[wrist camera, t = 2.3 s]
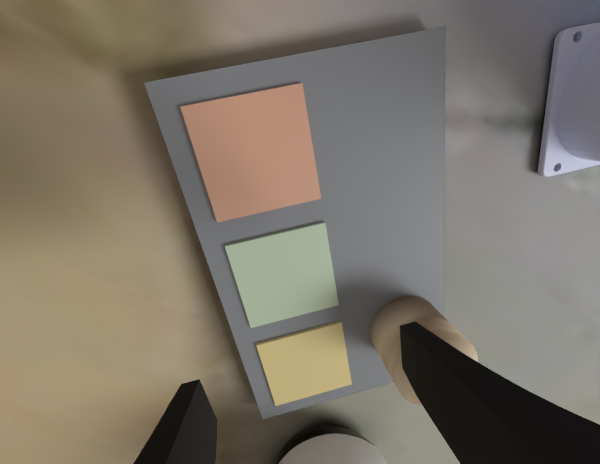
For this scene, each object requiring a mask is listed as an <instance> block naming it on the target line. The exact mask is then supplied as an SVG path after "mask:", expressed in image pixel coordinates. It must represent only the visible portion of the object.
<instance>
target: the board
mask: <svg viewBox="0 0 600 464" xmlns="http://www.w3.org/2000/svg"><path fill="white" fill-rule="evenodd" d="M144 84H145V87H146V90H147V93H148V96H149V99H150V101H151V104H152V107H153V110H154V113H155V116H156V118H157V121H158V124H159V127H160V130H161V133H162V135H163V138H164V141H165V144H166V147H167V150H168V152H169V155H170V158H171V161H172V164H173V167H174V169H175V172H176V175H177V178H178V181H179V184H180V186H181V189H182V192H183V195H184V198H185V201H186V203H187V206H188V209H189V212H190V215H191V218H192V220H193V223H194V226H195V229H196V232H197V235H198V237H199V240H200V243H201V246H202V249H203V252H204V254H205V257H206V260H207V263H208V266H209V269H210V271H211V274H212V277H213V280H214V283H215V286H216V289H217V291H218V294H219V297H220V300H221V303H222V306H223V308H224V311H225V314H226V317H227V320H228V323H229V325H230V328H231V331H232V334H233V337H234V340H235V342H236V345H237V348H238V351H239V354H240V357H241V359H242V362H243V365H244V368H245V371H246V374H247V376H248V379H249V382H250V385H251V388H252V391H253V393H254V396H255V399H256V402H257V405H258V408H259V410H260V413H261V416H262V419H267V418H270V417H274V416H277V415H281V414H284V413H288V412H291V411H294V410H298V409H301V408H305V407H308V406H312V405H315V404H319V403H322V402H326V401H329V400H333V399H336V398H339V397H343V396H346V395H350V394H353V393H357V392H360V391H364V390H367V389H371V388H374V387H378V386H381V385H384V384H388V383H391V382H394V381H393V379H392V377H391V375H390V374H389V372H388V370H387V368H386V366H385V365H384V363H383V361H382V359H381V357H380V356H379V354H378V352H377V350H376V348H375V347H374V345H373V343H372V341H371V338H370V326H371V323H372V320H373V318H374V317H375V315H376V314H377V312H378V311H379V310H380V309H381V308H382V307H383V306H385V305H386V304H387V303H389V302H391V301H392V300H395V299H397V298H400V297H404V296H418V297H421V298H424V299H426V300H427V301H429V302H430V303H431V304H432V305H433V306H434V307H435V308H436V309H437V310H438V311H439V312H440V313H441V314H442V315H443V316H444V165H445V27H439V28H434V29H429V30H423V31H418V32H413V33H407V34H402V35H396V36H391V37H386V38H380V39H375V40H370V41H364V42H359V43H354V44H348V45H343V46H337V47H332V48H327V49H321V50H316V51H311V52H305V53H300V54H295V55H289V56H284V57H278V58H273V59H268V60H262V61H257V62H252V63H246V64H241V65H236V66H230V67H225V68H219V69H214V70H209V71H203V72H198V73H193V74H187V75H182V76H177V77H171V78H166V79H160V80H155V81H150V82H144Z"/></svg>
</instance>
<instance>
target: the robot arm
mask: <svg viewBox="0 0 600 464" xmlns="http://www.w3.org/2000/svg"><path fill="white" fill-rule="evenodd" d="M573 37H574V41H573ZM596 165H600V22H598V23H592V24H587V25H582V26H577V27H572V28H568V29H564V30H562V31H560V32H559V33H558V34H557V36H556V38H555V41H554V48H553V56H552V64H551V72H550V79H549V87H548V95H547V103H546V111H545V118H544V126H543V134H542V142H541V149H540V157H539V165H538V174H539V175H540V176H543V177H550V176H554V175H559V174H563V173H567V172H571V171H575V170H580V169H584V168H588V167H592V166H596ZM554 166H555V167H554ZM400 341H401V357H402V368H403V370H404V372H405V374H406V376H407V378H408V380H409V382H410V384H411V386H412V388H413V390H414V392H415V394H416V396H417V397H418V399H419V400H420V402H421V404H422V405H423V407H424V408H425V410H426V411H427V413H428V414H429V416H430V418H431V419H432V421H433V422H434V424H435V425H436V427H437V428H438V430H439V431H440V433H441V434H442V436H443V437H444V439H445V441H446V442H447V444H448V445H449V447H450V448H451V450H452V451H453V453H454V454H455V456H456V457H457V459H458V460H459V462H460V464H600V425H599V424H597V423H594V422H592V421H590V420H588V419H585V418H583V417H581V416H579V415H576V414H574V413H572V412H570V411H568V410H566V409H563V408H561V407H559V406H557V405H555V404H553V403H551V402H549V401H547V400H545V399H543V398H541V397H539V396H537V395H535V394H533V393H531V392H529V391H527V390H525V389H523V388H522V387H520V386H518V385H516V384H514V383H512V382H511V381H509V380H507V379H505V378H504V377H502V376H500V375H498V374H497V373H495V372H493V371H491V370H490V369H488V368H486V367H485V366H483V365H481V364H480V363H478V362H477V361H475V360H473V359H472V358H470V357H469V356H467V355H465V354H464V353H462V352H461V351H459V350H458V349H456V348H455V347H453V346H452V345H450V344H449V343H447V342H446V341H444V340H443V339H441V338H440V337H438V336H437V335H435V334H434V333H432V332H431V331H429V330H428V329H426V328H425V327H423V326H422V325H420V324H419V323H417V322H416V321H415V322H411V323H407V324H404V325H400ZM216 442H217V419H216V416H215V414H214V412H213V410H212V407H211V405H210V403H209V400H208V398H207V396H206V393H205V391H204V389H203V386H202V384H201V382H200V380H195V381H192V382H188V383H184V384H181V386H180V387H179V389H178V390H177V392H176V394H175V396H174V397H173V399H172V401H171V402H170V404H169V406H168V408H167V409H166V411H165V413H164V414H163V416H162V418H161V420H160V421H159V423H158V425H157V426H156V428H155V430H154V431H153V433H152V435H151V436H150V438H149V440H148V441H147V443H146V444H145V446H144V448H143V449H142V451H141V453H140V454H139V456H138V457H137V459H136V461H135V462H134V464H215V459H216Z"/></svg>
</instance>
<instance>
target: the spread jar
mask: <svg viewBox="0 0 600 464" xmlns="http://www.w3.org/2000/svg"><path fill="white" fill-rule="evenodd" d="M275 464H388V463H387V461H386V459H385V458H384V457H383V455H382V454H381V452H380V451H379V450H378V449H377V448H376V447H375V446H374V445H373V444H372V443H371V442H370V441H369V440H367V439H366V438H364V437H363V436H361V435H360V434H358V433H356V432H354V431H352V430H349V429H346V428H342V427H338V426H320V427H315V428H312V429H309V430H306V431H304V432H302V433H300V434H299V435H297V436H296V437H294V438H293V439H292V440H291V441H289V442H288V443H287V445H286V446H285V447H284V448H283V450H282V451H281V453H280V455H279V456H278V458H277V460H276V463H275Z"/></svg>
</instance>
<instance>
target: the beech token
mask: <svg viewBox="0 0 600 464" xmlns="http://www.w3.org/2000/svg"><path fill="white" fill-rule="evenodd" d="M415 321H416V322H417V323H419V324H420V325H422V326H423V327H425V328H426V329H428V330H429V331H431V332H432V333H434V334H435V335H437V336H438V337H440V338H441V339H443V340H444V341H446V342H447V343H449V344H450V345H452V346H453V347H455V348H456V349H458V350H459V351H461V352H462V353H464V354H465V355H467V356H469V357H470V358H472V359H473V360H475V361H477V362H478V356H477V352H476V350H475V348H474V346H473V345H472V344H471V343H470V342H469V341H468V340H467V339H466V338H465V337H464V336H463V335H462V334H461V333H460V332H459V331H458V330H457V329H456V328H455V327H454V326H453V325H452V324H451V323H450V322H449V321H448V320H447V319H446V318H445V317H444V316H443V315H442V314H441V313H440V312H439V311H438V310H437V309H436V308H435V307H434V306H433V305H432V304H431V303H430V302H429V301H427V300H426V299H424V298H421V297H418V296H404V297H400V298H397V299H395V300H392V301H391V302H389V303H387V304H386V305H385V306H383V307H382V308H381V309H380V310H379V311H378V312H377V314H376V315H375V317H374V318H373V320H372V323H371V326H370V338H371V341H372V343H373V345H374V347H375V348H376V350H377V352H378V354H379V356H380V357H381V359H382V361H383V363H384V365H385V366H386V368H387V370H388V372H389V374H390V375H391V377H392V379H393V381H394V383H395V384H396V386H397V388H398V390H399V392H400V393H401V395H402V396H403V397H404V398H405V399H406V400H408V401H410V402H412V403H416V404H421V402H420V400H419V399H418V397H417V396H416V394H415V392H414V390H413V388H412V386H411V384H410V382H409V380H408V378H407V376H406V374H405V372H404V370H403V368H402V357H401V341H400V325H404V324H407V323H411V322H415Z"/></svg>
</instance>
